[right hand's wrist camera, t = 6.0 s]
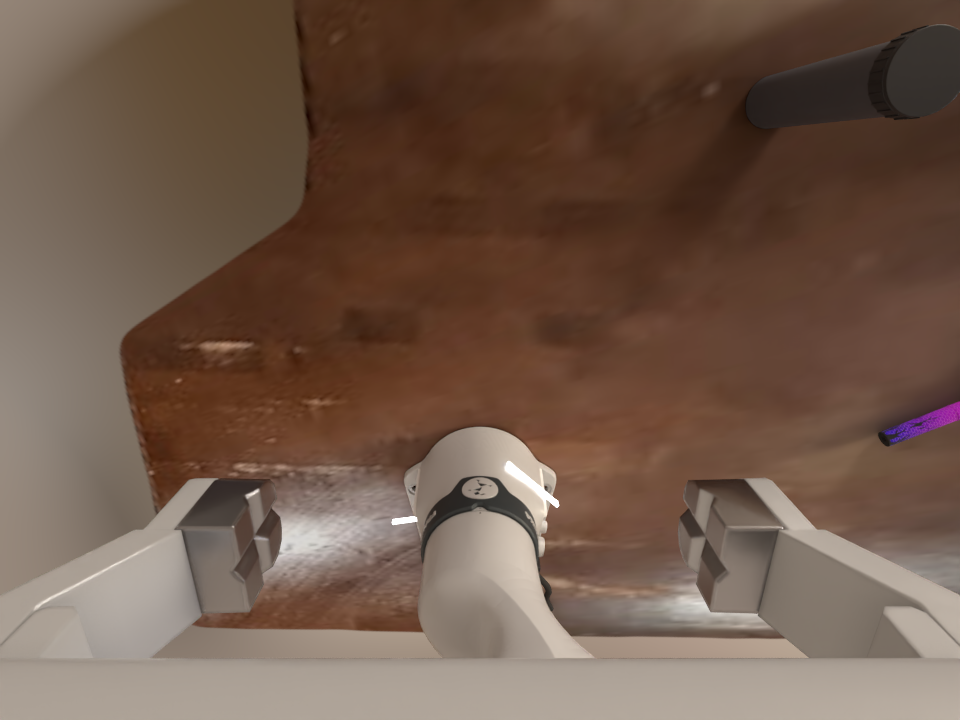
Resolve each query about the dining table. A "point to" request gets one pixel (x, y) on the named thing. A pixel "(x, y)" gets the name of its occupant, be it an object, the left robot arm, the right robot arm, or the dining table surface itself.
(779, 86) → the dark grey cylinder
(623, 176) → the dining table surface
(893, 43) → the lid
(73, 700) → the right robot arm
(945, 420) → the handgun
